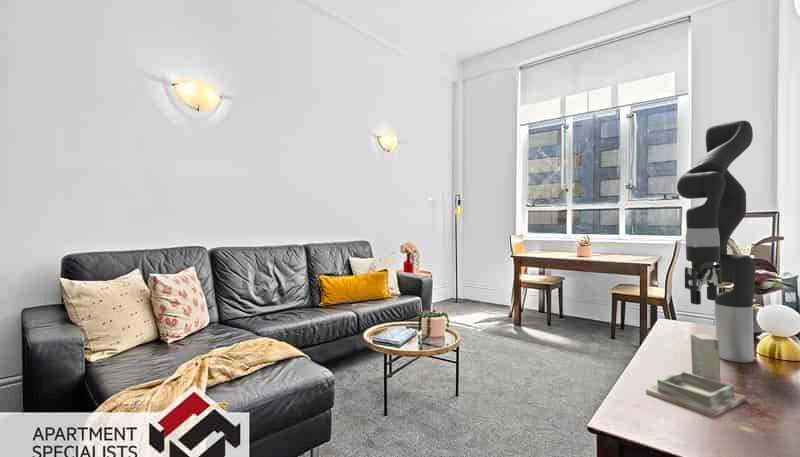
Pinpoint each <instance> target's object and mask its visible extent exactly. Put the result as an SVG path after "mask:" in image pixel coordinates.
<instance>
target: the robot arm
mask: <svg viewBox="0 0 800 457" xmlns="http://www.w3.org/2000/svg"><path fill="white" fill-rule="evenodd" d="M753 138H754V132H753V127H752V125H751V123H750V122H749V121H748V120H745V119H744V120H742V119H741V120H735V121H728V122H722V123H718V124H717V123H716V124H712V125H710V126H709V127H707V129H706V133H705V147H706V148H705V150H706V153H705V154H704V155H703V156H702V157H701V159H700V160H699V162H698V163H697V164H696V165H695V166H693V167H692V168H690V169H689V170H688V171H686V172H684V173H683V174H682V175H681V176H680V178H679V179H678V182H677V184H676V191H677V193H678V194H679V196H681V198H683V199H687V200H689V199H690V200H691V199H705V198H706V200H705V202H704V203H703V204H701V205H697V206H692V207H690V208H687V209H686V212H685V220H686V232H685V256H686V257H685V258H686V259H685V260H686V261H688V262H691V263H692V264H691V266H685V267H684V288H685V289H688V290H689V292H690V293H689V296H690V303H691V304H692V305H698V306H699V305H701V304H702V295H701V293H702V292H701V289H702V286H703V285H705V284H706V298H707V300H708V301H714V314H715V315H714V317H715V318H714V319H715V321H714V322H715V324H714V325H715V328H714V329H715V338H716V339H718V340H719V354H720V359H722V360H726V361H730V362H734V363H753V362H755V361H754V360H755V356H754V354H755V352H754V346H755V344H754V343H755V342H754V308H753V306H754V303H753V302H754V297H755V285H756V284H755V282H756V281H755V280H756V266H755V262H754V259H753V258H752V257H751V256H749V255H746V254H745V255H744V254H734V253H733V254H732V253H730V254H729V253H728V242H729V240H730V238H731V236H732V234H733V233H734V232H735V230H736V229H737V227H738V226H739V225H740V224H741V223H742V220H744V217H745V216H746V213H747V192H746V190H745V188H744V187H743V185H742V184H741V183H740V182H739V181H738V179H736V178H735V176H734V175H732V174H731V172H730V171H729V167H730V166H731V164H732V163H733V162H734V161H735V160H737V159H738V158H739V157H740V156H741V155H742V154H743V153H744V152H745V151H746V150H747V149H748V148H749V147H750V146H751V144H752V142H753ZM722 283H727V284H728V283H729V284H733V287H732V289H731V290H729V291H725V292H720V293H718V287H719V285H721V284H722Z"/></svg>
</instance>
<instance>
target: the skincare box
mask: <svg viewBox="0 0 800 457" xmlns="http://www.w3.org/2000/svg"><path fill="white" fill-rule="evenodd" d="M690 349H691V352H690V353H691V374H694V375H697V376H701V377H704V378H707V379H711V380H714V381H718V382H721V383H722V381H721V379H722V378H721V361H720V359H721V358H720V354H719V340H718V339H716V337H713V336H711V335H710V334H707V333H690Z"/></svg>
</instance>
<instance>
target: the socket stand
mask: <svg viewBox="0 0 800 457" xmlns="http://www.w3.org/2000/svg"><path fill="white" fill-rule="evenodd" d="M645 393H646V394H648V395H650V396H653V397H657V398H660V399H662V400H664V401H667V402H670V403H673V404H675V405H678V406H682V407H684V408H687V409H689V410H692V411H693V412H694V411H695V412H697V413H700V414H703V415H705V416H707V417H711V418H715V417H716V416H719V415H720V414H723V413H724V412H727V411H728V410H730V409H732V408H735V407H736V406H739V405H741V404H742V403H744V402H747V396H746V395H742V394H739V393H736V392H734V385H732V384H731V385H730V384H727V383H725V382H722V381H721V382H718V381H714V380H711V379H707V378H704V377H701V376H697V375H694V374H692V373H690V372H687V371H684V370H682V371H678V372H677V373H676V372H675V373H673V374H671V375H667V376H665V377H662V378H660V379H657V384H656V385H653V386H649V387H647V388H645Z"/></svg>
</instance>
